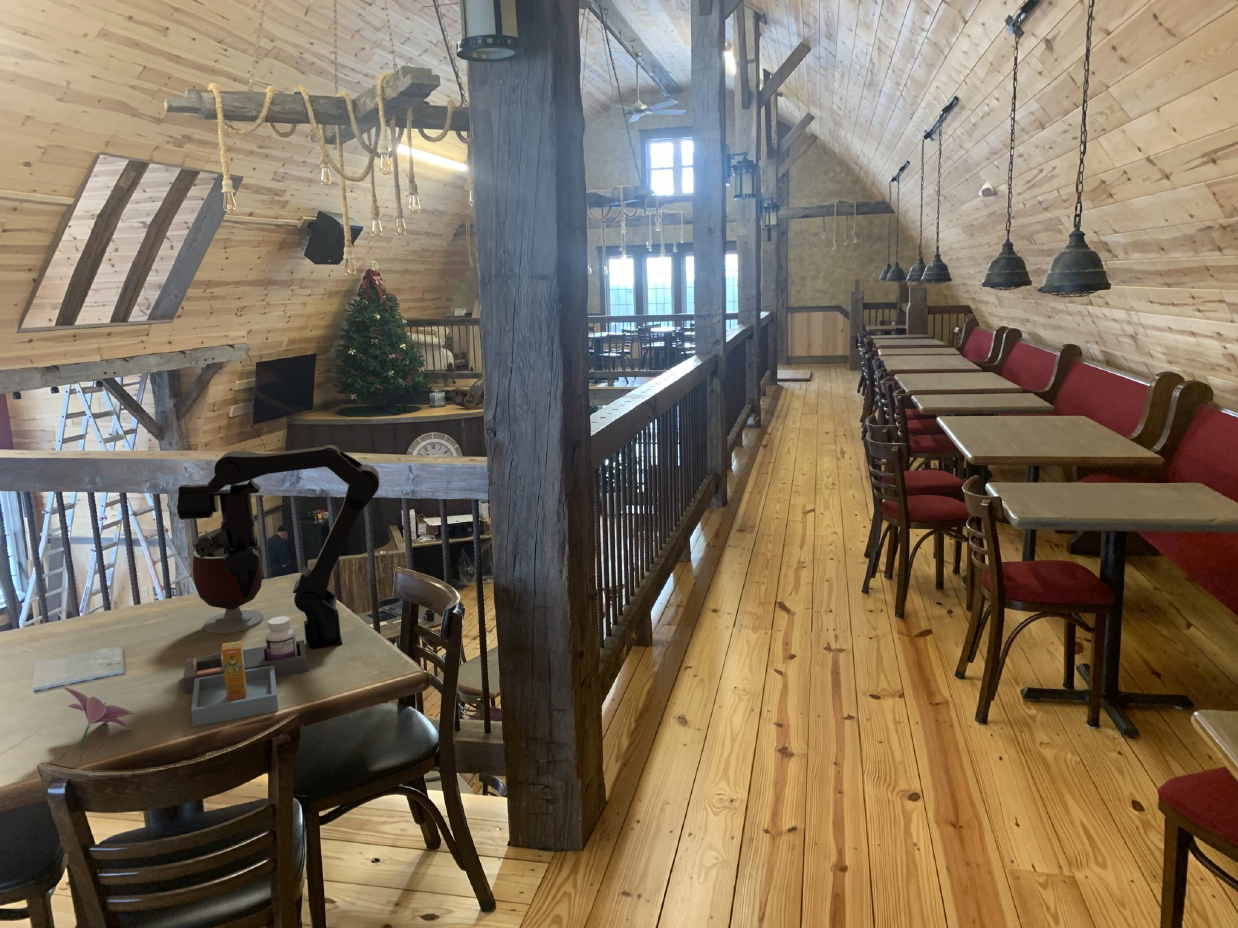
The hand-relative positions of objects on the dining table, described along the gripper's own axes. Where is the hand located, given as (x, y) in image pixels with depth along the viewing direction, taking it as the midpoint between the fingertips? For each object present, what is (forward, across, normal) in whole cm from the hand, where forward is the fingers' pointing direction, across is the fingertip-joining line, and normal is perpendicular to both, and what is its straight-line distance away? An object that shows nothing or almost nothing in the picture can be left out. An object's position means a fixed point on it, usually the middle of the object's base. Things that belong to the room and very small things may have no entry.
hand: (245, 589), depth 180 cm
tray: (+13, +24, -3) cm, 27 cm away
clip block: (+13, +12, -1) cm, 17 cm away
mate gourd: (+13, -19, -4) cm, 23 cm away
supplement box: (+12, +24, -3) cm, 27 cm away
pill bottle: (+13, +12, +6) cm, 18 cm away
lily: (+13, +28, -24) cm, 39 cm away
